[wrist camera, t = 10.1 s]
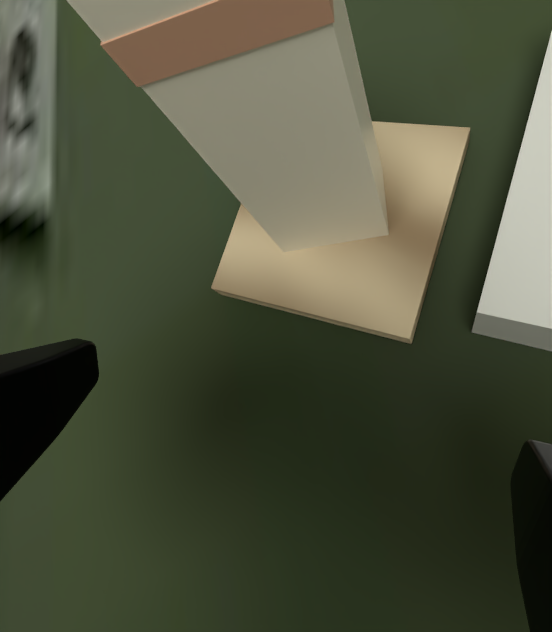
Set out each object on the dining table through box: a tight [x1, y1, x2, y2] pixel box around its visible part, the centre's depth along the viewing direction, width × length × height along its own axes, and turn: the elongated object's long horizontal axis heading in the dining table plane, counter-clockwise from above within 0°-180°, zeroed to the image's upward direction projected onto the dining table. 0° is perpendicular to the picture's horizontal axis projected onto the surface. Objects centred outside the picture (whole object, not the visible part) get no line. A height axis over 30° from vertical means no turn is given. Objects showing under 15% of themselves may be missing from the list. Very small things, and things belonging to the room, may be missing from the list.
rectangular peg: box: [67, 0, 389, 252], centre depth 13 cm, size 3×5×12 cm
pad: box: [211, 121, 470, 344], centre depth 20 cm, size 9×9×1 cm
